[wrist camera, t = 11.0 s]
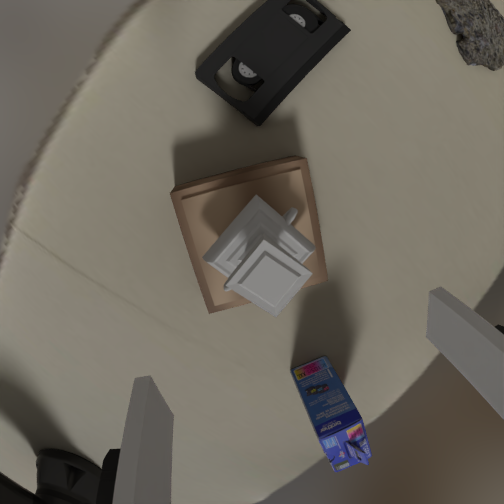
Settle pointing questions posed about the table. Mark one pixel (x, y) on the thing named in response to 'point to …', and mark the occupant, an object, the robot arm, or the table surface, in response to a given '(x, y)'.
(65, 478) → the robot arm
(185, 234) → the plinth
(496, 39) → the stone slab
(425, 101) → the table surface
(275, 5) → the vhs tape
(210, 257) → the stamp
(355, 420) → the ink cartridge box
